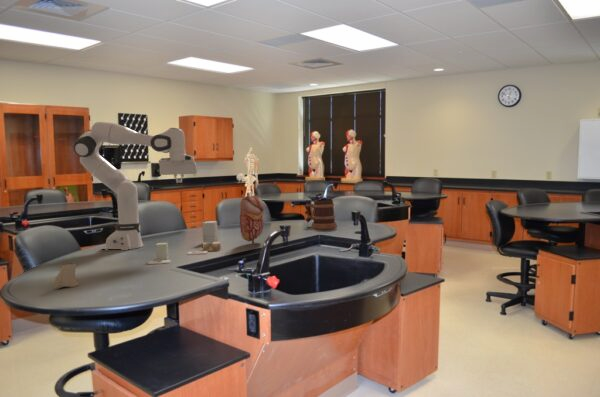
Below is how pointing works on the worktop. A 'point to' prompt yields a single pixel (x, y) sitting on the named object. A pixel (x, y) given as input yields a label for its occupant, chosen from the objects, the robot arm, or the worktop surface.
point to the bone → (66, 276)
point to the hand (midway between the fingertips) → (179, 182)
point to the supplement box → (210, 231)
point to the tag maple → (197, 252)
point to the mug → (321, 213)
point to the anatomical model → (251, 217)
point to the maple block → (211, 246)
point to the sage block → (162, 251)
